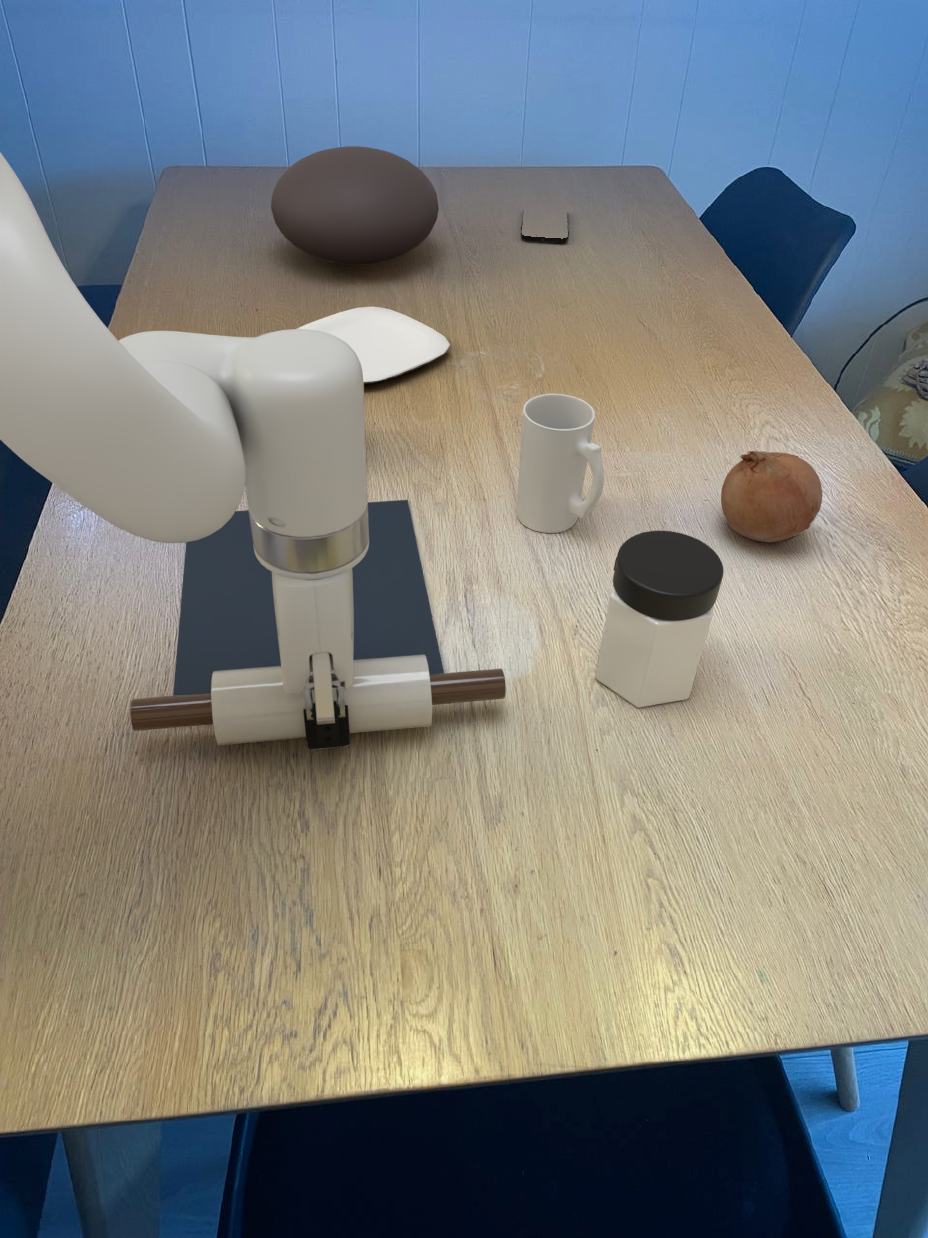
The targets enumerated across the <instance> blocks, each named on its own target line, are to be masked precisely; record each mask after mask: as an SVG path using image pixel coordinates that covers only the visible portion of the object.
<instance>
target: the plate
mask: <svg viewBox="0 0 928 1238" xmlns="http://www.w3.org/2000/svg"><path fill="white" fill-rule="evenodd" d="M296 329H308V330H316V331H321V332H325V333H328V334H331V335H333V336H335V337H337V338H339V339H341V340H343V341H344V342H346V343H347V344H348V345H349V346H350V347H351V348H352V349H353V350H354V352H355V353H356V355H357V357H358V359H359V361H360V363H361V367H362V372H363V382H364V385H366V384H376V383H381V382H384V381H388V380H391V379H395V378H397V377H399V376H403V375H405V374H407V373H409V372H412V371H414V370H416V369H419V368H421V367H423V366H426V365H429V364H430V363H432V362H434V361H435V360H438V359H439V358H441V357H443V356H445V355H446V353H447V352H448V350H449V349H450V347H451V343H450V342H449V341H448V339H447V337H446V336H444V335H443V334H441V333H440V332H438V331H436V330H435V329H434V328H433V327H431V326H428V325H426V324H424V323H422V322H420V321H418V320H416V319H414V318H412V317H410V316H408V315H406V314H403V313H401V312H399V311H395V310H393V309H390V308H386V307H380V306H379V307H378V306H362V307H354V308H351V309H348V310H344V311H339V312H337V313H334V314H331V315H327V316H325V317H321V318H320V319H317V320H314V321H312V322H309V323H306V324H303V325H302V326H300V327H297V328H296Z"/></svg>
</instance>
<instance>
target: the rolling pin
mask: <svg viewBox="0 0 928 1238" xmlns="http://www.w3.org/2000/svg"><path fill="white" fill-rule="evenodd" d="M310 673H311V675H310V676H313V671H312V672H310ZM331 674H334V670H331ZM332 691H333V701H336V702H337V694H336V688H332ZM343 691H344V704H345V705H348V715H349V730H350V734H359V733H371V732H381V731H392V730H404V729H414V728H425V727H431V726H432V723H433V706H439V705H450V704H460V703H461V704H462V703H473V702H485V701H496V700H504V699H505V698H506V694H507V685H506V677H505V673H504V670H503V668H489V669H478V670H466V671H454V672H444V673H441V674H429V668H428V663H427V659H426V656H425V654H421V655H408V656H396V657H383V658H370V659H358V660H353V681H352V684H351V686H350V687H349V688H348V689H346V690H345V687H343ZM312 695H313V704H314V703H315V692H314V690H312ZM303 709H306V703H305V692H304V690H303V692H302V693H301V694H292V695H289V694H288V693H286V692H285V691H284V689H283V681H282V670H281V666H270V667H257V668H244V669H232V670H219V671H214V672H213V674H212V682H211V693H199V694H187V695H175V696H173V695H163V696H162V695H161V696H153V697H151V696H150V697H141V698H132V699H131V700H130V708H129V714H130V724H131V728H132V730H133V731H134V732H141V731H143V732H144V731H151V730H152V731H153V730H155V731H156V730H165V729H176V728H186V727H200V726H209V725H210V726H213V733H214V735H215V736H214V737H215V741H216V744H217V746H226V745H227V746H228V745H229V746H230V745H238V744H248V743H249V744H250V743H261V742H272V741H283V740H293V739H294V740H295V739H304V738H305V739H306V732H305V723H304V713H303Z"/></svg>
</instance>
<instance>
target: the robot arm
mask: <svg viewBox="0 0 928 1238" xmlns="http://www.w3.org/2000/svg"><path fill="white" fill-rule="evenodd" d="M45 229H46V228H45V226H44V225H43V222H42V221H41V218H40V216H39V214H38V212H37V210H36V207H35V206H34V203H33V201H32V200H31V197H30V195H29V194H28V192H27V190H26V189H25V187H24V186H23V184H22V182H21V180H20V178H19V177H18V176H17V174H16V172H15V171H14V169H13V168H12V166H11V165H10V163H9V162H8V161H7V159H6V157H4V154H3V153H2V152H0V441H1V442H2V443H3V444H4V445H6V446H7V448H8V449H10V450H11V451H12V452H13V453H14V454H15V455H16V456H18V457H19V458H20V459H21V461H23V462H24V463H25V464H27V465H28V466H29V467H31V469H33V470H35V471H36V472H37V473H39V474H40V475H41V476H42V477H44V478H45V479H47V480H48V481H49V482H50V483H52V484H53V485H55V486H56V487H57V488H59V489H60V490H61V491H63V492H64V493H66V494H67V495H68V496H70V497H71V498H73V499H74V500H75V501H77V502H78V503H79V504H81V505H82V506H84V508H86V509H88V510H89V511H91V512H92V513H93V514H95V515H96V516H98V517H99V518H101V519H103V520H104V521H106V522H108V524H109V523H110V524H111V525H113V526H114V527H116V528H118V529H120V530H122V531H124V532H127V533H129V534H131V535H133V536H136V537H138V538H141V539H145V540H148V541H151V542H157V543H158V542H159V543H165V544H184V543H185V544H186V542H190V541H196V540H199V539H202V538H204V537H207V536H209V535H211V534H213V533H214V532H216V531H217V530H219V529H220V528H222V527H223V526H224V525H225V524H226V523H227V522H228V521H229V520H230V519H231V517H232V516H233V514H234V513H235V511H238V508H239V506H240V505H241V502H242V499H243V496H244V493H246V501H247V508H248V509H247V510H248V511H249V518H250V525H251V532H252V539H253V546H254V552H255V555H256V557H257V559H258V560H259V562H260V563H261V564H262V565H263V566H264V567H265V568H267V569H268V570H270V571H272V585H273V597H274V607H275V616H276V625H277V633H278V642H279V651H280V660H281V670H282V681H283V689H284V691H285V692H286V693H288V694H289V695H292V694H301V693H302V692H303V690H304V692H305V703H306V709H303V713H304V723H305V732H306V738H305V740H306V747H307V749H309V750H322V749H323V750H325V749H335V748H343V747H348V746H350V745H351V733H350V730H349V715H348V705H345V704H344V691H343V687H345V690H346V689H348V688H349V687H350V686H351V684H352V681H353V652H354V604H353V575H352V568H353V567H354V566H355V565H357V564H358V563H359V562H360V561H361V560H362V559H363V558H364V556H365V555H366V553H367V551H368V548H369V524H368V502H369V501H368V478H367V477H368V475H367V474H368V472H367V446H366V445H367V444H366V414H365V412H366V411H365V384H364V382H363V372H362V367H361V363H360V361H359V359H358V357H357V355H356V353H355V352H354V350H353V349H352V348H351V347H350V346H349V345H348V344H347V343H346V342H344V341H343V340H341V339H339V338H337V337H335V336H333V335H331V334H328V333H325V332H321V331H316V330H308V329H297V328H291V329H289V328H288V329H281V330H276V331H270V332H267V333H263V334H260V335H258V336H253V337H250V336H249V337H248V336H232V335H231V336H229V335H220V334H219V335H218V334H207V333H199V332H198V333H197V332H190V331H189V332H187V331H176V330H149V331H148V330H147V331H141V332H137V333H133V334H129V335H126V336H124V337H122V338H120V339H119V340H118V339H117V337H115V335H114V334H113V333H112V332H111V331H110V329H109V328H108V327H107V326H106V325H105V323H104V322H103V321H102V320H101V319H100V317H99V316H98V315H97V313H96V312H95V311H94V309H93V308H92V307H91V305H90V304H89V303H88V301H87V300H86V298H85V297H84V295H83V294H82V292H81V291H80V290H79V288H78V287H77V286H76V284H75V282H74V281H73V280H72V278H71V276H70V275H69V273H68V271H67V270H66V267H64V264H63V262H62V260H60V257H59V255H58V254H57V252H56V250H55V248H54V246H53V244H52V241H51V240H50V238H49V236H48V233H47V231H46V230H45ZM331 670H334V674H331ZM312 671H313V676H310V675H311V673H310V672H312ZM332 688H336V694H337V702H336V701H333V691H332ZM312 690H314V692H315V703H314V704H313V695H312Z"/></svg>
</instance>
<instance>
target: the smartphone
mask: <svg viewBox="0 0 928 1238" xmlns="http://www.w3.org/2000/svg"><path fill="white" fill-rule="evenodd" d="M521 230H522V226H521V227H520V231H521ZM536 236H537V235H536ZM569 236H570V231H569V230H568V237H567V238H563V239H561V238H545V237H531V236H524V235H522V233H521V232H520V238H521V240H523V241H525V242H526V241H527V242H536V243H537V242H538V243H551V244H565V243H567V242H568V239H569Z"/></svg>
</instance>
